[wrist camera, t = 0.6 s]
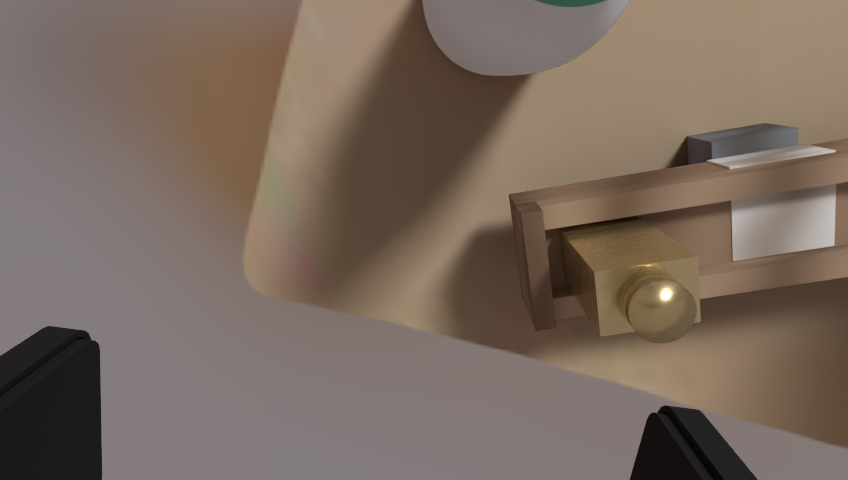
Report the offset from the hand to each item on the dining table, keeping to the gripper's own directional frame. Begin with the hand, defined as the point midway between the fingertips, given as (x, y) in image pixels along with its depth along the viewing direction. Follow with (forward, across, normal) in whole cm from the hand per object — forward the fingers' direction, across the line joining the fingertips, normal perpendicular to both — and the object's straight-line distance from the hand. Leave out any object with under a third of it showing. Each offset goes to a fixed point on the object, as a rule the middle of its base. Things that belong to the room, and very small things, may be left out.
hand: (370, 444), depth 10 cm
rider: (+19, -10, +1) cm, 22 cm away
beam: (+25, -19, -2) cm, 31 cm away
